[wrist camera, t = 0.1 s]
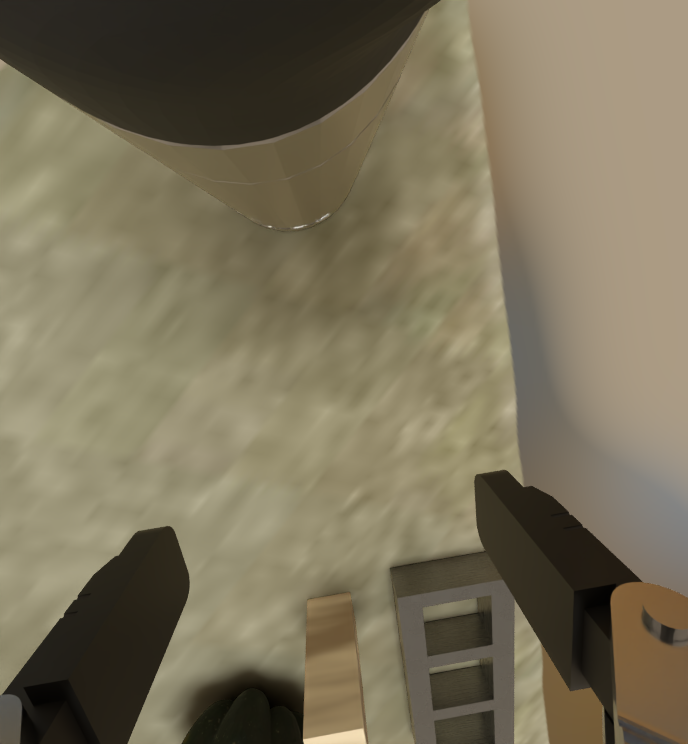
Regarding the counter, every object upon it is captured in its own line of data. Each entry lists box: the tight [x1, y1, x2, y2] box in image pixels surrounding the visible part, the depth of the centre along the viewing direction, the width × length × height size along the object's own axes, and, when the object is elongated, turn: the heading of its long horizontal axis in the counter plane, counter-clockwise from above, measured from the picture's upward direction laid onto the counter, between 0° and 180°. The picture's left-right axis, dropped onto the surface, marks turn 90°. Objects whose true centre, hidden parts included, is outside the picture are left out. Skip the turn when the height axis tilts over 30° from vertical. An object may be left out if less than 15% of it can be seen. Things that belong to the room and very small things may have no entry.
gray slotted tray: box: [390, 552, 514, 744], centre depth 34 cm, size 24×10×3 cm, turn 8°
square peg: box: [303, 592, 368, 744], centre depth 28 cm, size 4×4×10 cm
